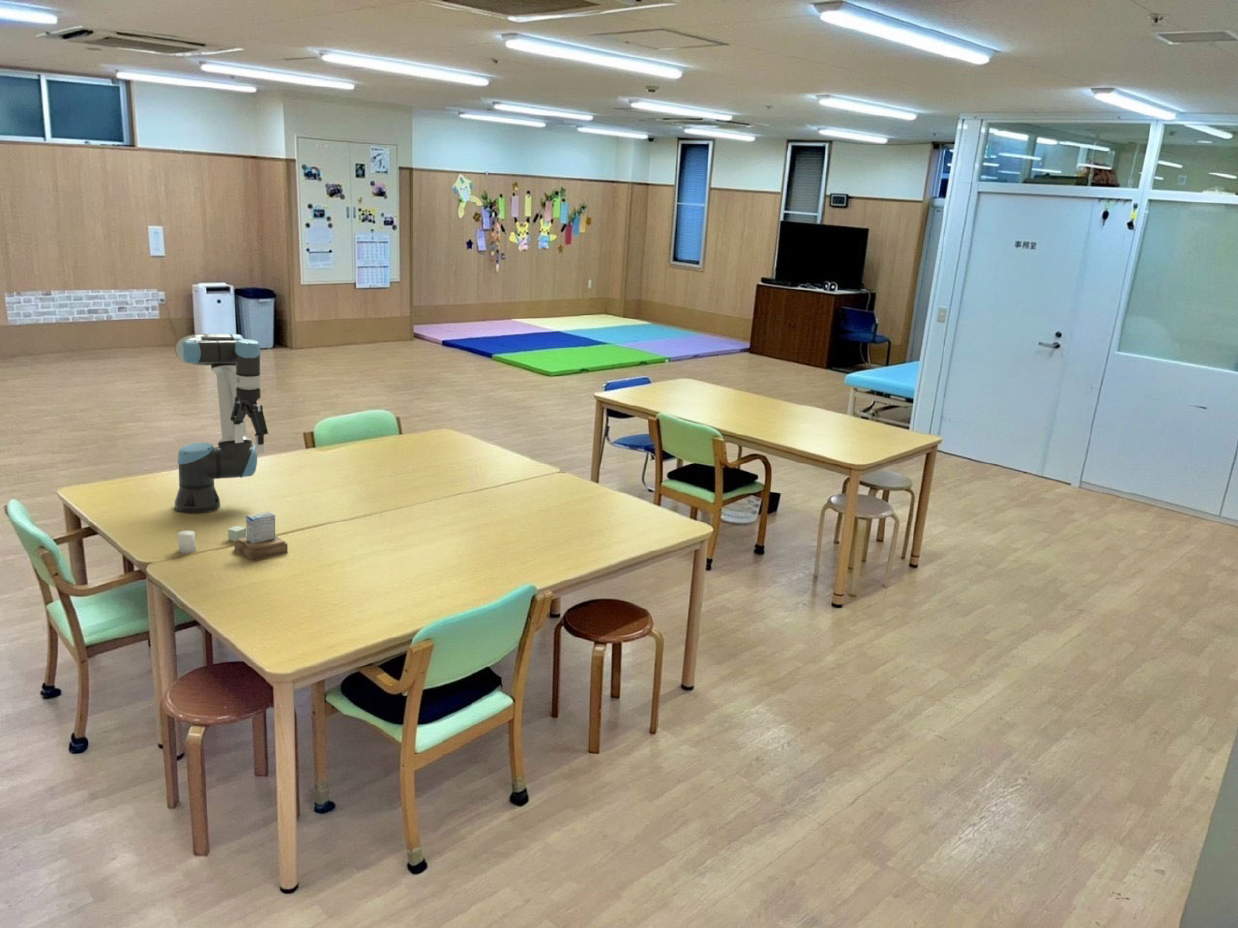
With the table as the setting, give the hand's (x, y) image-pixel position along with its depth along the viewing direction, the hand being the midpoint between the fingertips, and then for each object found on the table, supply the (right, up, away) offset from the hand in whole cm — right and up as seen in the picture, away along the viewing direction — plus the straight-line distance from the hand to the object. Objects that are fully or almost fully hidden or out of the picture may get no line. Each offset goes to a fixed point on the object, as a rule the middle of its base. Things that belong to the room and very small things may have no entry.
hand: (249, 447), depth 306 cm
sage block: (-5, -31, +1) cm, 31 cm away
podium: (+7, -34, -7) cm, 36 cm away
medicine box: (+7, -31, -8) cm, 32 cm away
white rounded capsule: (-16, -34, -12) cm, 39 cm away
